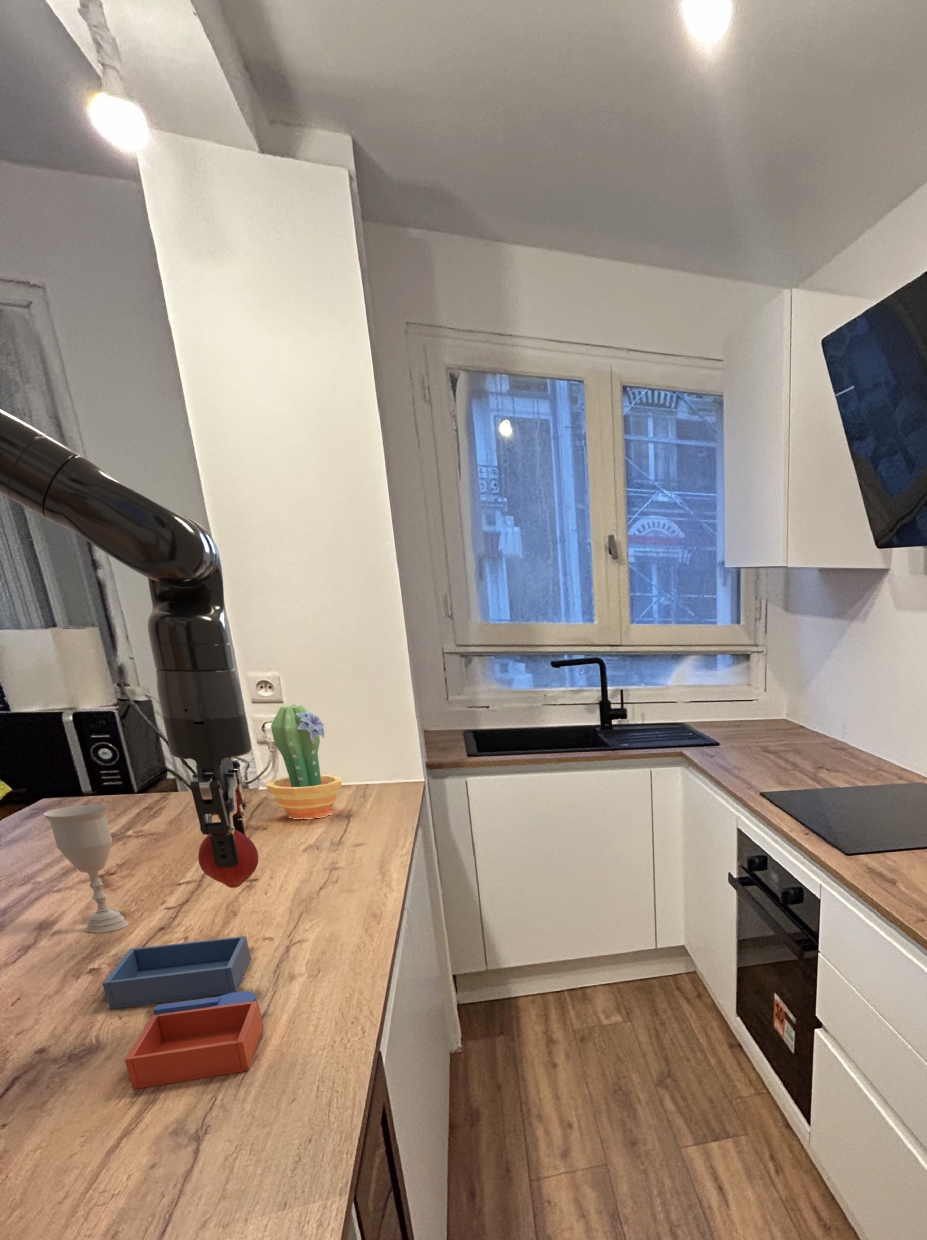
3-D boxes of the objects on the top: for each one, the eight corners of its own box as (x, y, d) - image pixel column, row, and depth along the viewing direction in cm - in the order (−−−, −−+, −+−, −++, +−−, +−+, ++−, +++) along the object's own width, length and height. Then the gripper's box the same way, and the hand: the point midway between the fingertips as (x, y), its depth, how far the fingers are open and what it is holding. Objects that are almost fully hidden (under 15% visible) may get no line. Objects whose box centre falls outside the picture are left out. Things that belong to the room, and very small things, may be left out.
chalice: (136, 915, 127) (107, 803, 121) (139, 928, 122) (109, 812, 116) (75, 925, 123) (42, 809, 117) (76, 939, 118) (42, 819, 112)
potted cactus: (281, 827, 177) (259, 711, 169) (264, 813, 188) (243, 703, 179) (356, 817, 187) (340, 706, 179) (336, 804, 198) (320, 700, 189)
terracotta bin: (132, 1089, 83) (124, 1060, 82) (159, 1042, 92) (152, 1014, 90) (248, 1070, 87) (242, 1042, 86) (263, 1027, 96) (258, 1000, 94)
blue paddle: (152, 1030, 94) (149, 1016, 94) (163, 1012, 98) (160, 998, 98) (254, 1015, 98) (251, 1002, 97) (260, 998, 102) (258, 985, 102)
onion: (208, 882, 96) (194, 817, 94) (264, 877, 99) (253, 813, 96) (202, 898, 92) (188, 829, 89) (262, 891, 94) (249, 825, 92)
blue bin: (109, 1009, 99) (102, 983, 97) (136, 972, 108) (129, 948, 107) (236, 992, 104) (230, 967, 102) (251, 958, 113) (246, 935, 112)
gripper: (177, 704, 93) (206, 844, 99) (145, 720, 81) (180, 880, 87) (253, 703, 96) (277, 840, 102) (233, 719, 84) (261, 873, 90)
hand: (232, 857), depth 94 cm, fingers closed on onion, 6 cm apart
